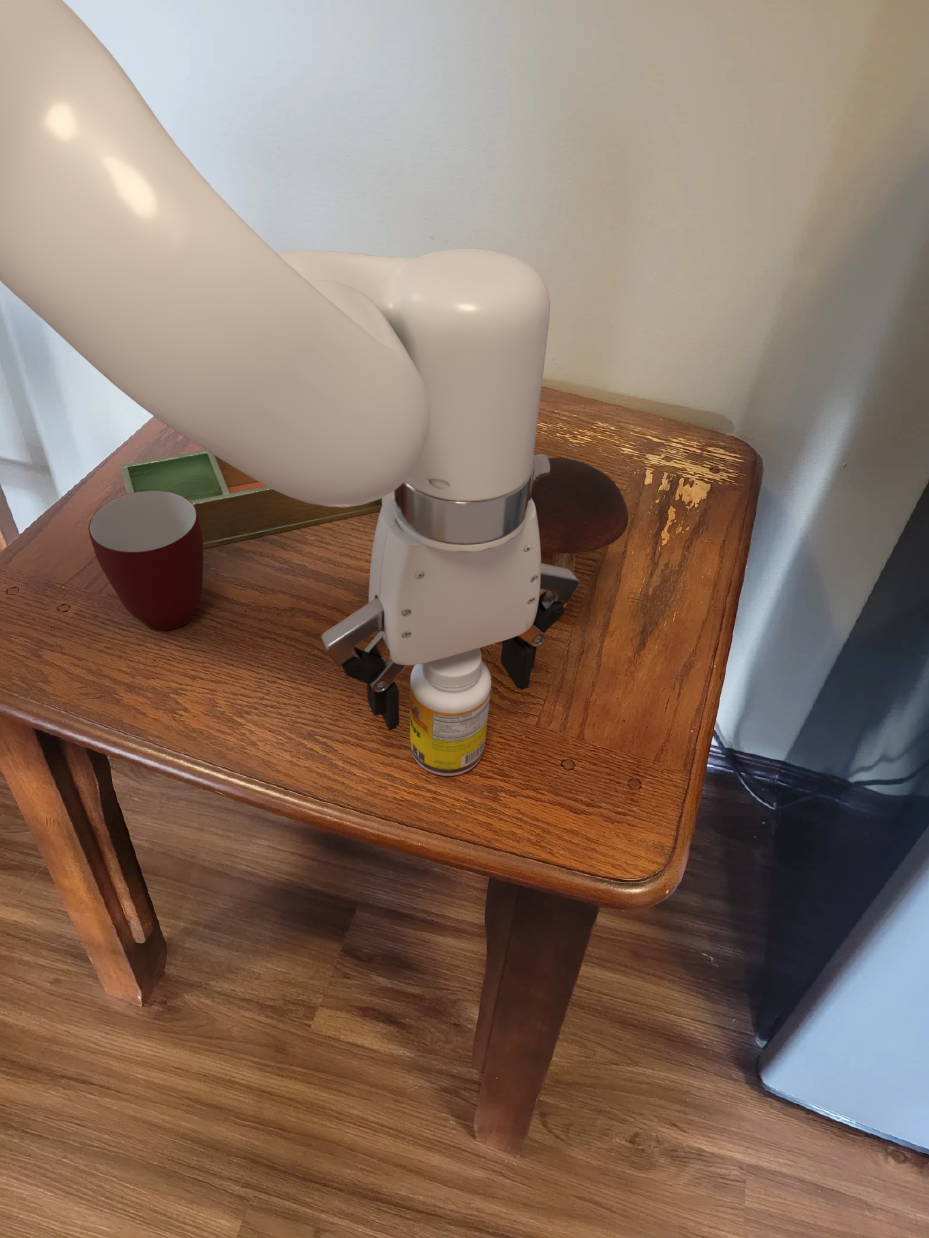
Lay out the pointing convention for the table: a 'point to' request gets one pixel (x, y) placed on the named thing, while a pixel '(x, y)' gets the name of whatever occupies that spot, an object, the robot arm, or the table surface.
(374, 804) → the table surface
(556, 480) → the decorative mushroom
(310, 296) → the robot arm
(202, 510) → the compartment tray
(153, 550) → the mug
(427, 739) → the supplement bottle
